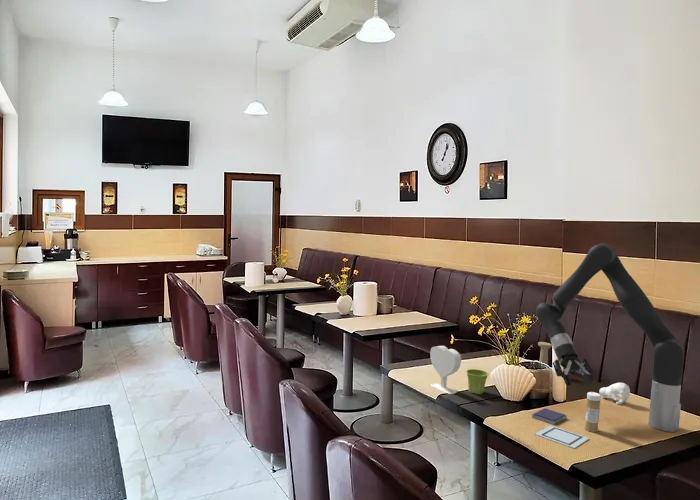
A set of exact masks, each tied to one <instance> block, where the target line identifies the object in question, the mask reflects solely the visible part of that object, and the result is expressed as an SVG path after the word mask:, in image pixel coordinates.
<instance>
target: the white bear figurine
mask: <svg viewBox="0 0 700 500" xmlns="http://www.w3.org/2000/svg"><path fill="white" fill-rule="evenodd" d="M599 394H600V395H601V399H606V398H608V397H609V398H611V399H612V400H614V401H616V402H615V404H616V405H621V404H623V403H626V402H627V401H628V399H629V397H630V394H631V390H630V386H629V385H628V384H626V383H624V382H616V383H613V384H611V385H609V386H606V387H601V388H600V389H599ZM618 398H620V399H619V400H618Z"/></svg>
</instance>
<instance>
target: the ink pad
mask: <svg viewBox="0 0 700 500" xmlns="http://www.w3.org/2000/svg"><path fill="white" fill-rule="evenodd" d="M531 418H532V419H536V420H538V421H542V422H544V423H547V424H550V425H552V426H556V425H558V424H560V423H561V422H563V421H565V420H567V419H568V415H567V414H565V413H561V412H557V411H554V410H553V409H549V408H545V407H544V408H543V409H540V410H538V411H536V412H534V413H533V414H531Z"/></svg>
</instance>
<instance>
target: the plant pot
mask: <svg viewBox="0 0 700 500" xmlns="http://www.w3.org/2000/svg"><path fill="white" fill-rule="evenodd" d="M465 373H466V375H467V382H468V384H467V385H468V392H469V393H470V394H475V395H483V393H484V390H485V387H486V386H485V385H486V381H487V379H488V376H489V372H488V371H486V370H482V369H476V368H469V369H466V370H465Z"/></svg>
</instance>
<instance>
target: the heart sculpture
mask: <svg viewBox="0 0 700 500" xmlns="http://www.w3.org/2000/svg"><path fill="white" fill-rule="evenodd" d="M429 353H430V354H429V355H430V362H431V365H432V366H433V368H434V370H435V372H436V373H437V374H438V375H439V377H440V383H432V384H430V387H432V388H435V389H437V390H439V391H441V392H444V393H447V394H449V395H450V394H456V393H458V391H456V390H454V389H451V388H450V387H447V385H448V384H447V383H448V382H447V380H448V377H449V376H451V375H454V374H455V373H456V372H458V371H459V369H460V367H461V363H462V355H461V354H460V352H458V350H456V349H453V348H449V349H448V347H446V346H445V345H437V346H432V347H431V348H430V352H429Z"/></svg>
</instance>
